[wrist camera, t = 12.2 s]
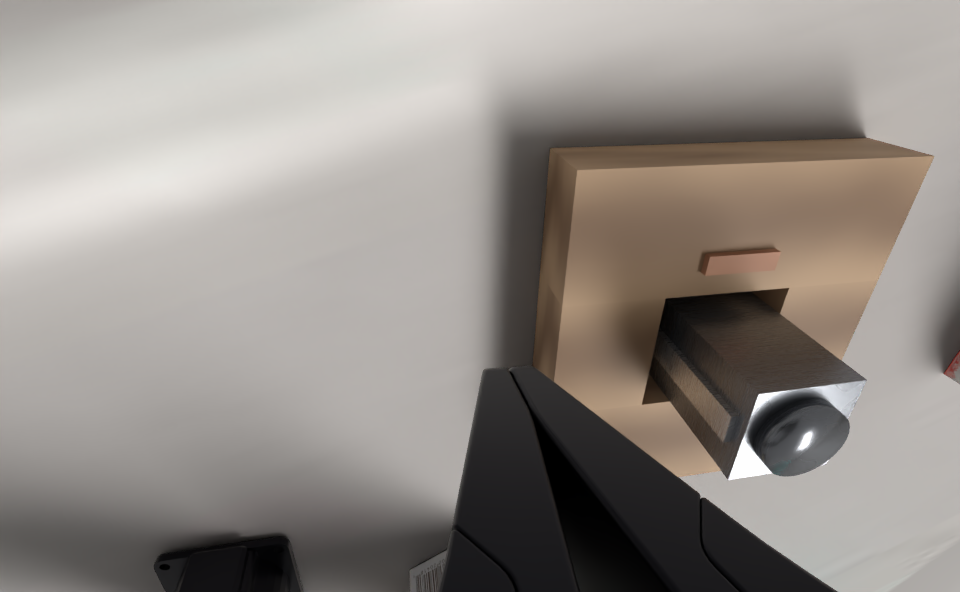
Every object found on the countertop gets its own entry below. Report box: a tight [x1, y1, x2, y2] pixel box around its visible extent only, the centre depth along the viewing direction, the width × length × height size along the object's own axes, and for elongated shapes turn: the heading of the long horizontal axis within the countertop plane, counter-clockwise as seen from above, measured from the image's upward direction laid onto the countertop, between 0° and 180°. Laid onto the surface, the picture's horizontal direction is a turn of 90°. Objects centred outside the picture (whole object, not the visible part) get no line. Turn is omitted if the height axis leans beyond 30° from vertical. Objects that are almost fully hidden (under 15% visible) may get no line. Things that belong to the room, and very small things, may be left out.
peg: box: [649, 291, 867, 480], centre depth 21 cm, size 4×4×9 cm
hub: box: [532, 138, 934, 477], centre depth 23 cm, size 16×14×3 cm
